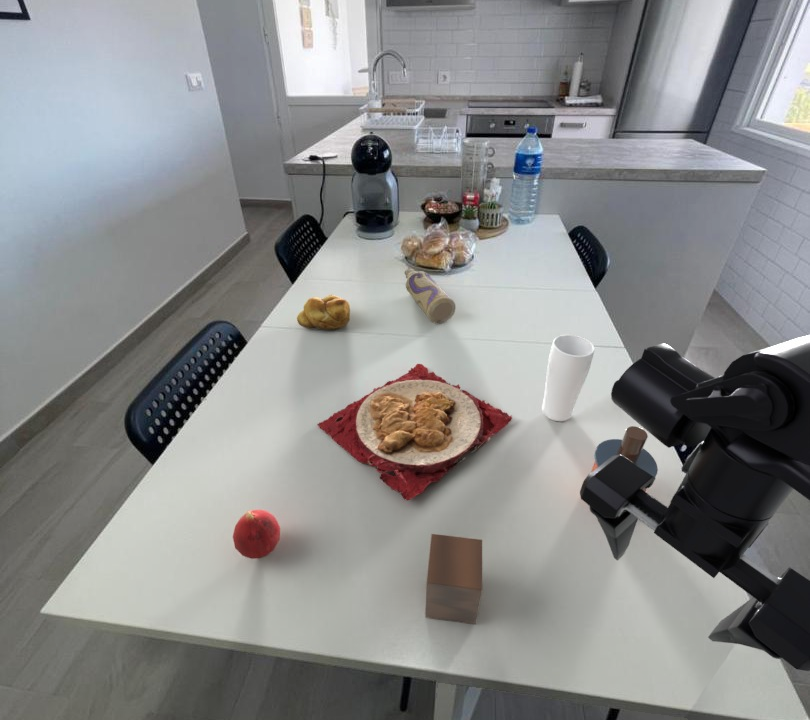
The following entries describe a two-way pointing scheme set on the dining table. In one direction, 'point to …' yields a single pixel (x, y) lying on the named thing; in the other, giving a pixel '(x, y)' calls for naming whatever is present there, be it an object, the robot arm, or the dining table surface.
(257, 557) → the onion
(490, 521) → the dining table surface
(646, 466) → the lid
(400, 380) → the plate with food
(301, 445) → the dining table surface
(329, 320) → the bread roll
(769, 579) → the robot arm
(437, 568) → the block
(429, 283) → the decorative bottle
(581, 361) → the drinking glass
